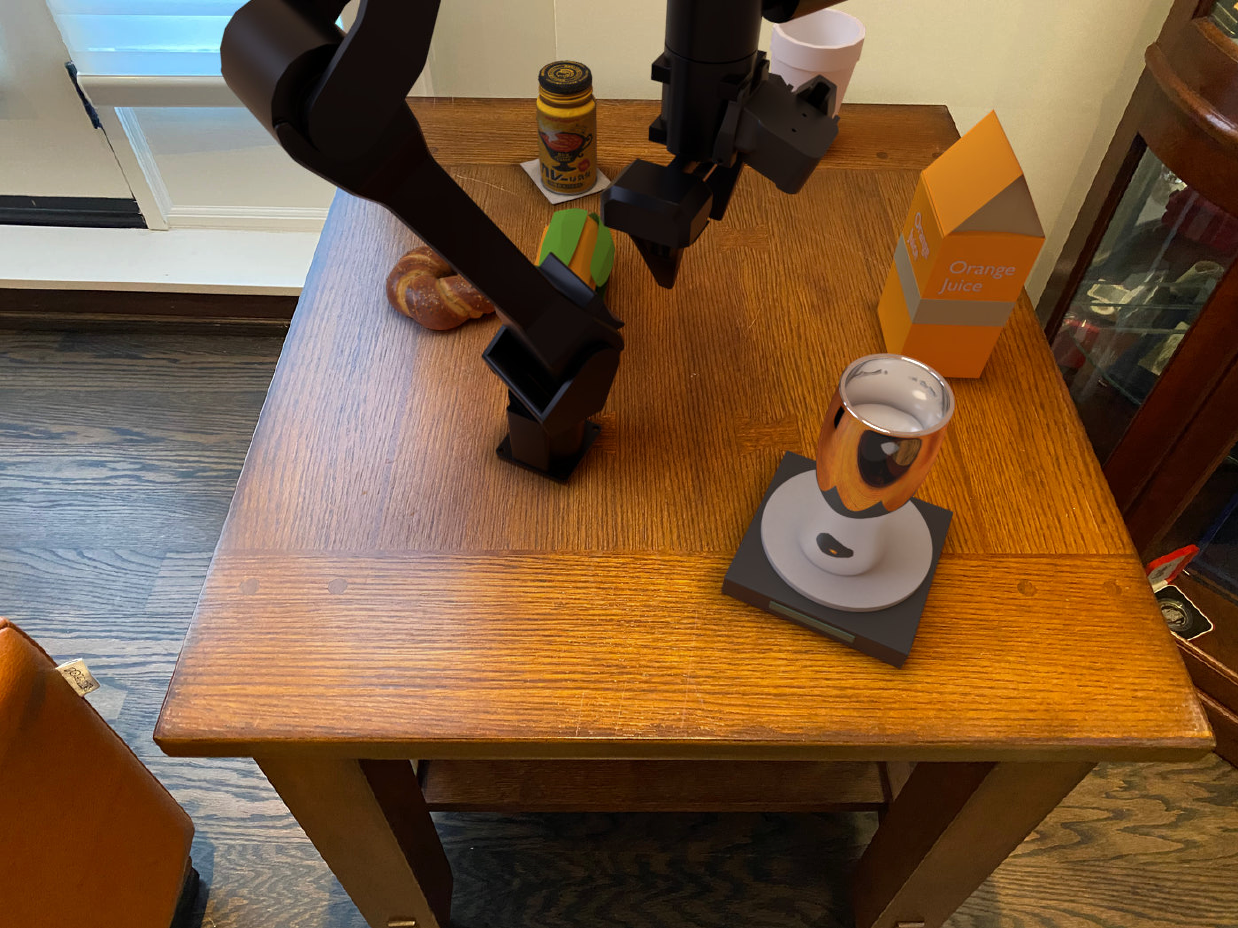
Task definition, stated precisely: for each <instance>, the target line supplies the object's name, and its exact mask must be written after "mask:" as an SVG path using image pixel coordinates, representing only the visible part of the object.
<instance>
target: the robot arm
mask: <svg viewBox="0 0 1238 928" xmlns="http://www.w3.org/2000/svg"><path fill="white" fill-rule="evenodd" d="M351 1H352V0H248V1H247V2H246V3H244V4H243V5H242V6H241V7H239V8H238V9H237V10H236V11H235V12H234V13H233V15H232V16H231V18H230V20H229V21H228V22H227V24H226V26H225V27H224V29H223V33H222V37H221V42H220V47H219V56H220V73H221V76H222V77H223V80H224V83H225V84H226V85H227V87H228V88H229V89H230V90H231V92H232V93H233V94H234V95H235V96H236V98H237V99H238V100H239V102H241V103H242V104H243V105H244V107H245V108H246V109H247V110H248V111H249V112H250V113H251V115H252V116H253V117H254V118H255V119H256V120H257V122H259V123H260V124H261V126H262V127H263V128H264V129H265V130H266V131H267V133H268V134H269V135H270V136H271V137H272V138H273V139H274V140H275V141H276V143H277V144H278V145H279V146H280V147H281V148H282V149H283V150H284V152H285V153H286V154H287V155H288V156H289V157H290V159H292V160H293V161H294V162H295V163H296V164H297V165H299V166H300V167H302V168H303V169H306V170H307V171H309V172H310V173H313V174H314V175H316V176H317V177H319V178H321V179H323V180H325V181H326V182H328V183H329V184H331V185H333V186H335V187H337V188H338V189H340V190H342V191H344V192H345V193H347V194H349V195H351V196H352V197H355V198H358V199H362V200H364V201H367V202H371V203H373V204H376V205H379V206H380V207H382V208H384V209H386V210H387V211H388V212H390V213H391V214H392V215H393V216H394V217H395V218H396V219H397V220H399V221H400V222H401V223H402V224H403V225H404V226H405V227H406V228H407V229H408V230H409V231H411V232H412V233H413V234H414V236H416V237H418V239H419V240H420V241H422V242H423V243H424V244H425V246H429V247H430V248H431V249H432V250H433V251H434V252H435V253H436V254H437V255H438V256H440V257H441V258H442V259H443V260H444V261H445V262H446V263H447V264H448V265H450V266H451V267H452V268H453V269H454V270H455V271H456V272H457V273H458V274H459V275H461V276H462V277H463V278H464V279H465V280H466V281H467V282H468V283H469V284H471V285H472V286H473V287H474V288H475V289H476V290H477V291H478V292H479V293H480V294H482V295H483V296H484V297H485V298H486V299H487V300H488V301H489V302H490V303H491V304H493V305H494V307H495V314H496V316H497V317H498V318H499V320H500V321H501V323H502V324H501V326H500V327H499V328H498V330H497V331H496V333H495V334H494V336H493V337H492V339H491V340H490V342H489V344H488V345H487V346H486V348H485V349H484V351H483V352H482V354H481V356H480V358H481V359H482V361H483V362H484V363H485V365H486V366H487V368H488V369H489V370H490V371H491V373H493V374H494V375H496V377H498V379H499V380H500V381H501V382H502V383H503V384H504V386H505V387H507V398H508V399H507V400H508V405H507V407H506V408H505V410H506V411H505V412H506V418H507V426H508V433H507V434H506V435H505V437H504V438H503V439H502V441H501V442H500V443H499V444H498V446H497V447H496V448H495V456H496V457H497V458H498V459H500V460H502V461H505V462H507V463H510V464H512V465H514V466H517V467H519V468H522V469H523V470H526V471H529V472H532V473H534V474H536V475H538V476H541V477H543V478H545V479H548V480H550V481H553V482H555V483H558V484H560V485H566V484H567V483H569V482H570V480H571V479H572V477H574V476H573V475H574V474H575V473H576V471H577V470H578V468H579V467H580V466H581V464H582V463H583V461H584V459H585V458H586V456H587V455H588V453H589V452H590V451H591V449H592V448H593V446H594V445H595V444H596V442H597V441H598V439H599V438H600V436H601V435H602V432H603V427H602V426H601V424H600V423H597V422H594V421H591V420H589V418H592V417H593V416H595V415H596V414H599V413H600V412H602V411H604V408H605V406H606V403H607V399H608V397H609V394H610V393H611V392H610V391H611V389H612V386H613V383H614V380H615V377H616V376H617V375H616V374H617V372H618V369H619V366H620V362H621V357H620V356H621V353H622V352H623V351H624V350H625V348H626V343H625V339H624V337H623V334H622V333H621V332H620V331H619V330H621V329H623V328H624V327H625V326H626V322H624V320H622V319H621V318H620V317H619V316H618V315H617V314H616V313H615V312H614V311H612V310H611V308H609V307H608V305H607V304H606V303H605V300H604V301H603V300H602V298H601V297H600V295H599V294H598V293H596V292H595V291H594V290H593V289H592V288H591V287H590V286H589V285H588V284H587V283H585V282H584V281H583V280H582V279H581V278H580V277H579V276H578V275H577V274H576V273H575V272H573V271H572V270H571V269H570V268H569V267H568V266H567V265H566V264H565V263H564V262H562V261H561V260H560V259H559V258H558V257H557V256H556V255H555V254H554V253H553V252H552V251H551V252H550V253H549V254H548V256H547V257H546V258H545V260H544V261H543V262H542V264H541V265H540V266H537V265H534V264H535V263H532V261H531V260H530V259H529V258H528V257H527V256H526V255H525V254H524V253H523V252H522V251H521V250H520V249H519V248H518V247H517V245H516V244H515V243H514V242H513V241H512V240H511V239H510V238H509V237H508V236H507V235H506V233H504V232H503V231H502V230H501V228H500V227H499V226H498V225H497V224H496V223H495V222H494V221H493V220H492V219H491V218H490V217H489V215H488V214H486V213H485V211H484V210H483V209H482V208H481V207H480V206H479V205H478V204H477V203H476V202H475V201H474V200H473V198H471V197H470V195H469V194H468V193H467V192H466V191H465V190H464V189H463V188H462V187H461V186H460V185H459V184H458V182H456V180H454V178H453V177H452V175H450V174H449V173H448V172H447V171H446V170H445V169H444V167H442V166H441V164H440V163H439V162H438V161H437V160H436V159H435V157H434V156H433V154H432V152H431V150H430V149H429V145H428V142H427V139H426V138H425V135H424V132H423V129H422V126H421V124H420V122H419V120H418V119H417V117H416V115H415V114H414V112H413V111H412V109H411V107H410V105H409V104H408V102H407V100H406V98H407V97H408V95H409V94H410V92H411V91H412V89H413V87H414V85H415V84H416V83H417V81H418V79H419V77H420V76H421V75H422V73H423V71H424V68H425V66H426V64H427V60H428V56H429V53H430V52H429V51H430V48H431V43H432V40H433V35H434V31H435V27H436V23H437V20H438V15H439V11H440V7H441V3H442V0H359V4H358V7H357V12H356V16H355V19H354V21H353V23H352V24H351V26H350V28H349V29H348V31H347V32H346V31H344V29H343V28H341V26H339V25H338V24H337V22H338V19H339V17H340V16H341V14H342V13H343V11H344V9H345V7H346V6H347V5H348V4H349V3H350V2H351ZM847 1H849V0H666V9H665V27H664V28H665V30H664V44H663V45H664V47H663V48H664V49H663V52H662V53H661V54H659V56H658V57H656V59H655V60H654V61H653V62H652V63H651V65H650V66H651V67H650V68H651V69H650V80H651V81H654V82H657V83H660V84H662V85H661V101H660V113H659V115H658V116H656V117H655V119H654V120H653V121H652V123H650V124H649V126H648V139H647V141H648V142H652V143H656V144H659V145H662V146H666V149H665V150H666V151H667V152H668V153H669V154H671V155H673V156H674V158H673V159H671V161H670V162H669V163H668V165H663V164H659V163H656V162H653V161H649V160H645V159H642V158H639V157H638V158H636V159H634V160H633V161H631V162H630V163H628V164H627V165H626V166H624V167H623V168H622V169H621V170H620V171H619V172H618V174H617V175H616V176H615V177H614V178H613V179H612V180H611V181H610V182H611V183H610V184H609V185H608V186H607V187H606V188H605V189H602V192H601V193H599V201H600V202H599V203H600V205H599V206H600V207H599V211H600V213H599V216H600V219H601V221H602V223H603V225H604V226H605V227H608V228H609V229H610V230H612V229H613V230H614V231H618V232H620V233H624V234H627V235H628V237H629V238H630V240H631V241H632V242H633V245H634V246H635V248H636V249H637V250H638V252H639V254H640V255H641V257H642V260H643V261H644V263H645V265H646V267H647V268H648V270H649V272H650V274H651V276H652V277H653V279H654V281H655V282H656V285H657V286H659V288H663V289H666V290H669V291H670V290H672V289H673V288H674V286H675V284H676V281H677V278H678V275H679V271H680V268H681V263H682V259H683V256H684V252H685V249H686V248H690V247H691V246H692V245H694V244H695V243H696V241H698V239H699V238H700V237H701V235H702V234H703V232H704V231H705V230H706V228H707V227H708V226H709V224H710V223H711V220H714V221H716V222H720V221H722V220H723V219H724V217H725V214H726V213H727V210H728V207H729V205H730V202H731V199H732V198H733V195H734V192H735V190H736V189H737V185H738V183H739V181H740V178H741V176H742V173H743V171H744V168H745V166H746V165H747V166H748V167H750V168H751V169H752V170H755V171H756V172H757V173H759V174H760V175H762V176H763V177H765V178H766V179H768V181H771V182H772V183H774V185H775V188H776V189H778V190H779V191H781V192H782V193H785V194H787V195H798V194H799V193H800V192H801V191H802V189H803V188H804V186H805V185H806V183H807V181H808V180H809V179H810V177H811V176H812V174H813V173H814V172H815V170H816V168H817V166H818V165H819V164H820V162H821V161H822V159H823V158H824V156H825V155H826V154H827V152H828V150H829V149H830V147H831V145H832V144H833V142H834V141H835V140H836V138H837V137H838V135H839V133H840V129H839V128H840V127H839V125H838V123H839V122H840V120H841V116H839V115H838V114H837V115H835V116H834V118H833V119H832V115H833V114H834V112H835V105H836V94H837V86H836V84H834V83H832V82H831V81H829V80H828V79H826V78H825V77H823V76H822V75H817V76H816V77H814V78H812V79H810V80H809V81H807V82H805V83H804V84H802V85H800V86H799V87H798V88H797V89H796V91H793V92H791V91H792V89H793V88H794V86H792V85H791V84H788V85H787V84H786V83H785V81H784V80H783V78H782V76H781V75H777V74H773V73H771V72H770V68H771V59H767V55H768V51H766V50H761V49H759V44H760V39H761V38H760V37H761V30H762V22H763V19H764V20H766V21H767V22H769V23H773V24H774V23H777V24H781V23H786V22H789V21H792V20H795V19H798V18H800V17H803V16H806V15H809V14H811V13H814V12H817V11H820V10H823V9H825V8H831V7H834V6H836V5H839V4H842V3H845V2H847ZM709 219H711V220H709Z"/></svg>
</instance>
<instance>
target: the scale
mask: <svg viewBox="0 0 1238 928" xmlns="http://www.w3.org/2000/svg"><path fill="white" fill-rule="evenodd" d="M815 472H816V459H812V458H809V457H807V456H804V455H801V454H799V453H796V452H793V451H792V450H791V451H790V450H785V453H784V454H783V457H782V458H781V461H780V462H779V465H778V467H777V469H776V471H775V473H774V475H773V477H772V479H771V481H770V483H769V485H768V487H767V489H766V491H765V493H764V495H763V497H762V500H761V501H760V503H759V505H758V507H757V509H756V512H755V514H754V515H753V518H752V520H751V522H750V524H749V525H748V527H747V530H746V532H745V533H744V536H743V538H742V540H741V542H740V544H739V545H738V548H737V550H736V551H735V554H734V556H733V558H732V560H731V562H730V564H729V566H728V568H727V571H726V572H725V574H724V576H723V579H722V585H721V589H720V592H721V594H724V595H727V596H728V597H731V598H733V599H736V600H738V601H741V602H743V603H746V604H748V605H749V606H753V607H755V608H757V609H759V610H762V611H764V612H766V613H769V614H771V615H773V616H776V617H778V618H780V619H782V620H785V621H788V622H790V623H792V624H795V625H797V626H800V627H802V628H804V629H806V630H809V631H811V632H813V633H815V634H817V635H820V636H823V637H825V638H827V639H829V640H831V641H835V642H836V643H839V644H841V645H844V646H846V647H849V648H850V649H853V650H854V651H855V650H856V651H858V652H860V653H863V654H864V655H868V656H869V657H871V658H874V659H877V660H879V661H881V662H883V663H886V664H888V665H890V666H892V667H895V668H898V669H902V668H903V667H904V665H905V663H906V662H907V659H909V656H910V655H911V652H912V651H911V650H912V648H913V644H914V642H915V638H916V634H917V632H918V629H919V626H920V622H921V619H922V615H923V612H924V610H925V606H926V603H927V600H928V596H929V593H930V590H931V587H932V583H933V580H934V577H935V573H936V571H937V567H938V564H939V561H940V558H941V554H942V552H943V548H944V545H945V542H946V539H947V536H948V532H949V529H950V525H951V523H952V519H953V516H954V511H953V510H950V509H947V508H944V507H942V506H939V505H937V504H934V503H931V502H928V501H925V500H923V499H920V498H917V497H914V496H913V497H912V498H911V499H910V500H909V502H908V503H907V504H906V505H905V506H904V508H903V509H902V510H901V511H900V512H899V513H898V515H897V516H896V517H895V518H894V520H893V521H892V522H891V524H890V526H889V528H888V531H887V538H886V546H885V551H884V554H883V556H882V558H881V560H880V561H879V563H878V564H877V565H876V566H875V567H874V568H872V569H871V570H869V571H867V572H865V573H863V574H859V575H853V576H843V575H837V574H833V573H830V572H827V571H825V570H823V569H821V568H819V567H818V566H816V565H815V564H814V563H812V562H811V561H810V560H809V559H808V558H807V557H806V555H805V554H804V553H803V551H802V549H801V547H800V544H799V541H798V526H799V523H800V521H801V519H802V517H803V515H804V514H805V512H806V511H807V509H808V508H809V506H810V505H811V503H812V501H813V498H814V494H815Z"/></svg>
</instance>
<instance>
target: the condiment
mask: <svg viewBox="0 0 1238 928" xmlns="http://www.w3.org/2000/svg"><path fill="white" fill-rule="evenodd" d="M537 81H538V93H539V94H538V96H537V99H536V101H535V105H536V107H535V109H536V115H535V116H536V117H535V121H536V125H537V146H538V158H536V159H533V160H530V161H529V160H528V161H524V162H521V163H519V166H521V168H522V169H523V170H524V171H525V172H526V173H527V174H528V176H529V177H530V178H531V180H532V181H533V182H534V184H536V187H538V189H539V190H540V191H541V193H543V195H544V196H545V197H546V199H547V200H548V202H550V204H552V205H554V204H558V203H562V202H567V201H570V200H574V199H578V198H582V197H584V196H587V195H590V194H591V195H592V194H595V193H597V192H600V191H603V190H604V189H605V188H606V187H607V186H608V185H609V184H610V183H611V182H612V181H611V180H610V179H609V178H608V177H607V176H606V175H605V174H604V173H603V172H602V171H601V169H599V167H598V136H597V135H598V131H597V129H598V127H597V125H598V124H597V103H598V102H597V100H596V97H595V95H594V94H593V93H594V87H593V73H592V71H591V69H590V68H589V66H587V65H586V64H585V63H582V62H580V61H575V60H569V59H568V60H567V59H566V60H556V61H552V62H550V63H548V64H546V65H544V66H543V67H542V68H540V70H539V71H538V75H537Z"/></svg>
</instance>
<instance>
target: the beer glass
mask: <svg viewBox="0 0 1238 928" xmlns="http://www.w3.org/2000/svg"><path fill="white" fill-rule="evenodd" d="M955 402H956V401H955V395H954V393H953V390H952V388H951V386H950V384H949V383H948V382H947V380H945V377H942V376H941V375H940V374H939V373H938V372H937V371H935V370H934V369H933V368H931V367H930V366H928V365H926V364H924V363H922V362H920V361H918V360H916V359H913V358H910V357H907V356H903V355H897V354H888V353H887V352H886V353H885V352H884V353H872V354H868V355H864V356H862V357H859V358H857V359H855V360H854V361H852V362H851V363H850V364H848V365H847V366H846V367H845V368H844V369H843V371H842V373H841V375H840V376H839V379H838V384H837V386H836V387H835V390H834V393H833V395H832V398H831V400H830V402H829V404H828V407H827V409H826V412H825V415H824V418H823V420H822V424H821V427H820V432H819V436H818V438H817V439H818V440H817V446H816V455H815V461H816V472H815V494H814V498H813V501H812V503H811V505H810V506H809V508H808V509H807V511H806V512H805V514H804V515H803V517H802V519H801V521H800V523H799V526H798V541H799V544H800V547H801V549H802V551H803V553H804V554H805V555H806V557H807V558H808V559H809V560H810V561H811V562H812V563H814V564H815V565H816V566H818V567H819V568H821V569H823V570H825V571H827V572H830V573H833V574H837V575H843V576H853V575H859V574H863V573H865V572H867V571H869V570H871V569H872V568H874V567H875V566H876V565H877V564H878V563H879V561H880V560H881V558H882V556H883V554H884V551H885V546H886V538H887V531H888V528H889V526H890V524H891V522H892V521H893V520H894V518H895V517H896V516H897V515H898V513H899V512H900V511H901V510H902V509H903V508H904V506H905V505H906V504H907V503H908V502H909V500H910V499H911V498H912V497H914V496H915V495H916V493H917V492H918V490H919V489H920V488H921V486H922V485H923V484H924V483H925V481H926V480H927V478H928V475H929V474H930V472H931V470H932V468H933V466H934V464H935V462H936V460H937V457H938V455H939V453H940V450H941V448H942V445H943V442H944V439H945V436H946V434H947V431H948V427H949V423H950V421H951V420H952V417H953V414H954V411H955Z"/></svg>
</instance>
